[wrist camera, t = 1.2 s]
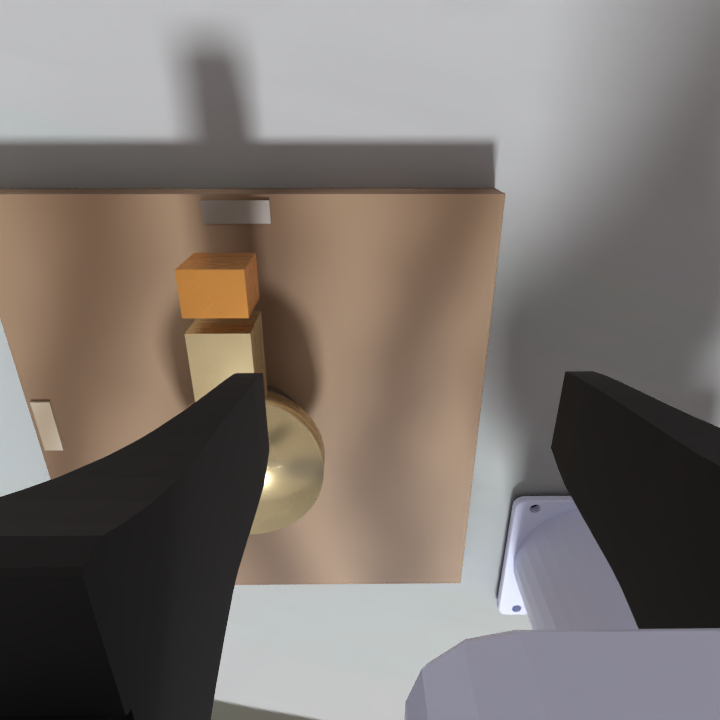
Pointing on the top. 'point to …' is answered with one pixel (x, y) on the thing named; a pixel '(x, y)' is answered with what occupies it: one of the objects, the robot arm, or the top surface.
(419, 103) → the top surface
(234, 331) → the lever handle
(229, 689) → the top surface
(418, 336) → the board
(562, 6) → the top surface
